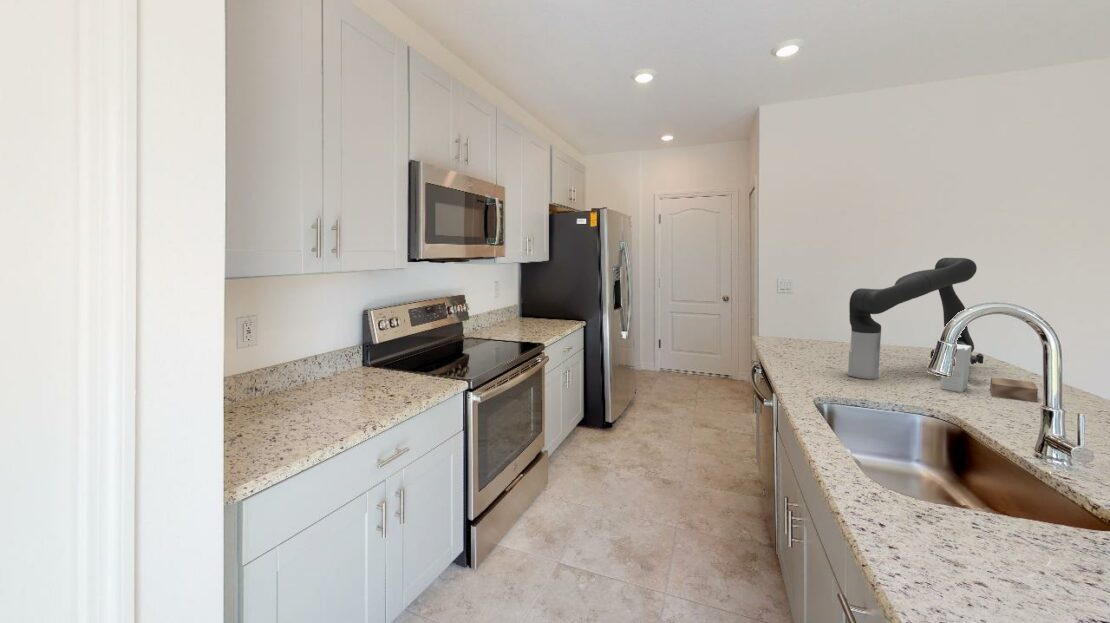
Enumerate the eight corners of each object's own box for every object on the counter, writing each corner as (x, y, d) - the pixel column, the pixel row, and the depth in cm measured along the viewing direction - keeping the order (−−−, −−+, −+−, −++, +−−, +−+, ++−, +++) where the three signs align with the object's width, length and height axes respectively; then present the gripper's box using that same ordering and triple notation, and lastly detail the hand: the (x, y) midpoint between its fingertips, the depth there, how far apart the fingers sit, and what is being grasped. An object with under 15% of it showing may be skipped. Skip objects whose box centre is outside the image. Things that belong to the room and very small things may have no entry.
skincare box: (945, 384, 160) (949, 342, 158) (968, 387, 155) (972, 345, 153) (940, 389, 154) (943, 346, 153) (963, 393, 150) (967, 348, 148)
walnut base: (991, 396, 146) (992, 383, 145) (990, 388, 153) (991, 377, 153) (1036, 402, 139) (1038, 389, 139) (1032, 394, 147) (1033, 382, 146)
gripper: (932, 340, 176) (930, 347, 164) (982, 344, 166) (985, 351, 154) (931, 359, 177) (929, 367, 164) (981, 364, 167) (983, 373, 155)
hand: (956, 359), depth 159 cm, fingers open, 8 cm apart
